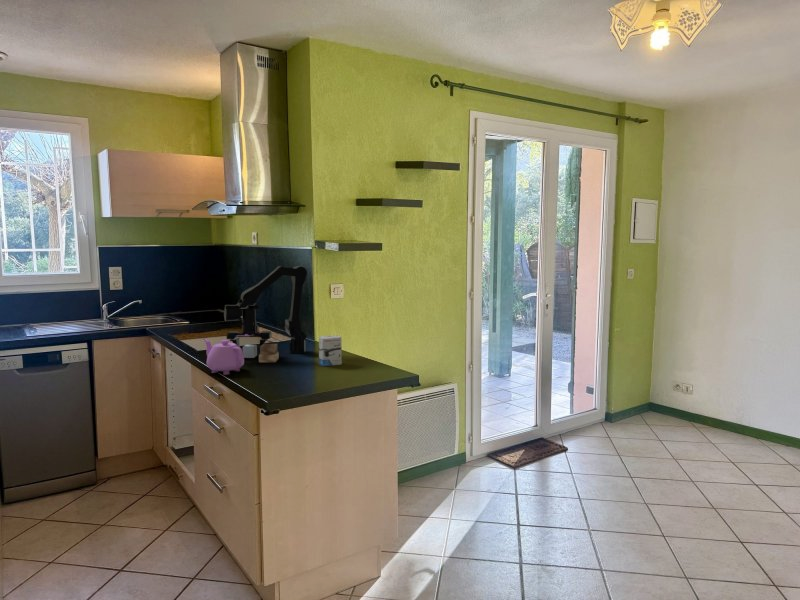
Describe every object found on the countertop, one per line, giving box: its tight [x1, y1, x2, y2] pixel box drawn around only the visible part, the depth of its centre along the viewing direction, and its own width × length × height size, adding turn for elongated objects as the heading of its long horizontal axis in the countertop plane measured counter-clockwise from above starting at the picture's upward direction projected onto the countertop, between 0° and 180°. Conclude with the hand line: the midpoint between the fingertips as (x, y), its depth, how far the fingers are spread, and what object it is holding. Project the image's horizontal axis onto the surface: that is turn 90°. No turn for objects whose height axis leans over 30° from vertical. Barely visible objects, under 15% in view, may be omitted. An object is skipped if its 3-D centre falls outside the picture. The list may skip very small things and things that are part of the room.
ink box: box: [318, 334, 343, 367], centre depth 233 cm, size 8×5×12 cm, turn 118°
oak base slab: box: [258, 351, 279, 363], centre depth 240 cm, size 7×7×4 cm
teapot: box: [203, 338, 245, 376], centre depth 220 cm, size 20×14×12 cm
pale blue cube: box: [242, 344, 258, 359], centre depth 247 cm, size 5×5×5 cm
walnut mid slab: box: [259, 343, 278, 355], centre depth 240 cm, size 6×6×4 cm
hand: (249, 354), depth 248 cm, fingers open, 9 cm apart
